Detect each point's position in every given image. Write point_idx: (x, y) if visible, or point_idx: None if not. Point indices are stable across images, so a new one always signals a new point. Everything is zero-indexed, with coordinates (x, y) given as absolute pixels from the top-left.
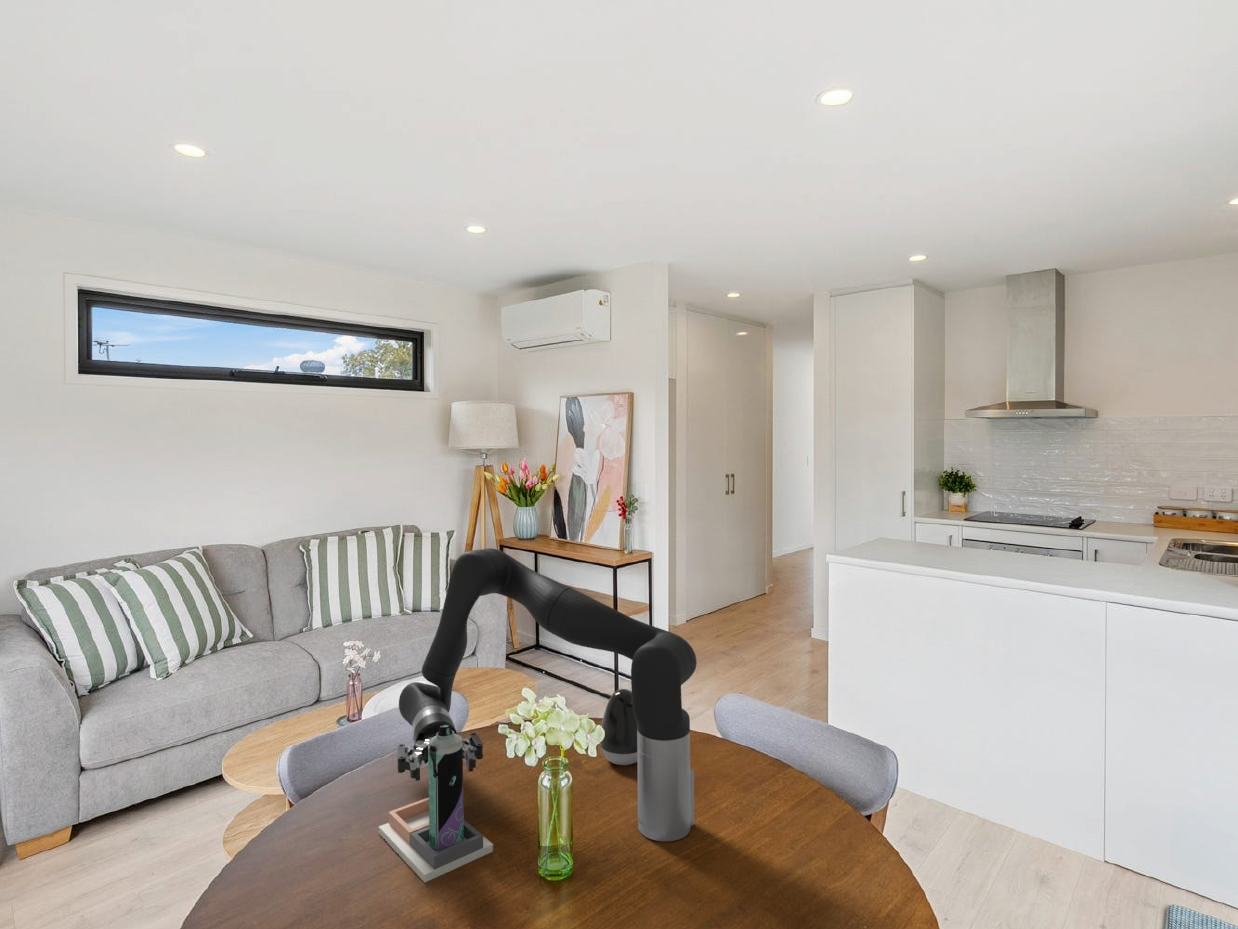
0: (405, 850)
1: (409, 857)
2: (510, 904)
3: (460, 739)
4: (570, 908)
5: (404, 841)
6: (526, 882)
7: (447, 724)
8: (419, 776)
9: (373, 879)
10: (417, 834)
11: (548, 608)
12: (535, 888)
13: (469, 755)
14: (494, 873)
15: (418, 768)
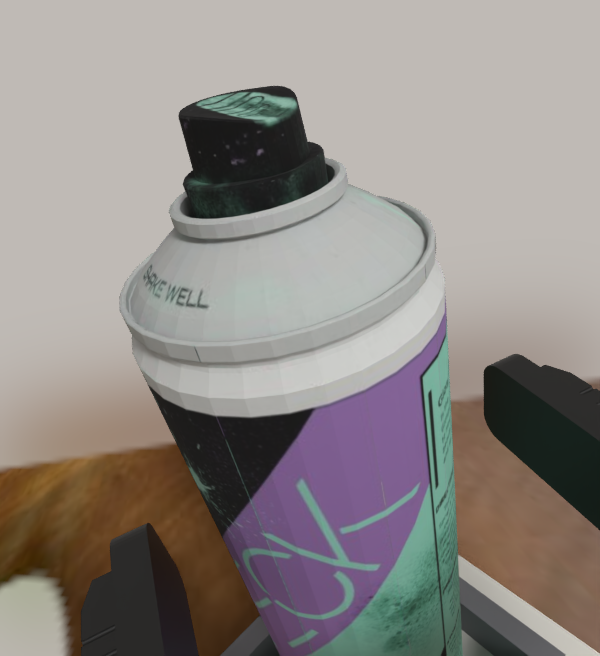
0: (556, 638)
1: (502, 591)
2: (153, 482)
3: (133, 292)
4: (28, 489)
5: None
6: (101, 562)
7: (214, 114)
8: (487, 402)
9: (572, 518)
10: (523, 648)
11: None
12: (83, 541)
13: (133, 593)
14: (189, 592)
15: (498, 363)
